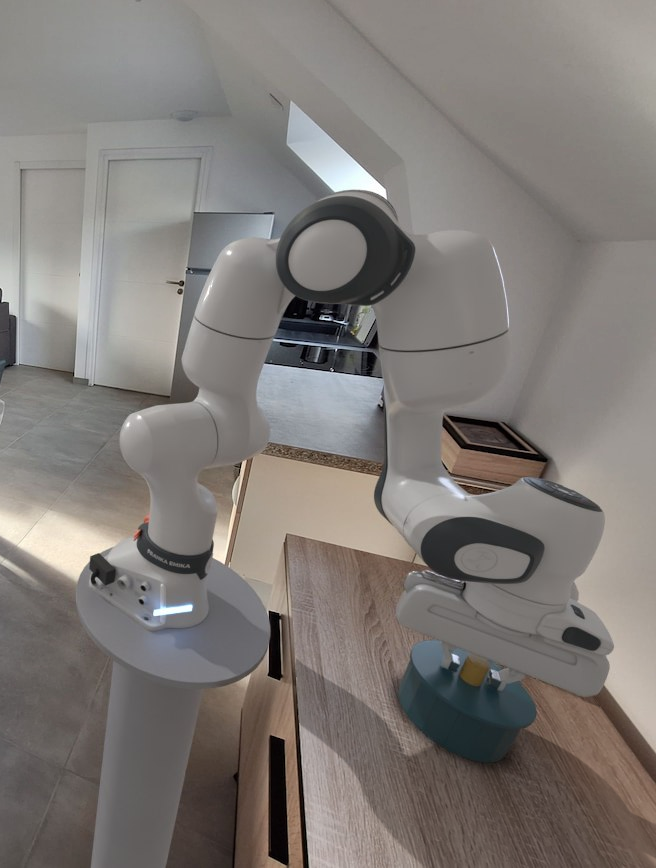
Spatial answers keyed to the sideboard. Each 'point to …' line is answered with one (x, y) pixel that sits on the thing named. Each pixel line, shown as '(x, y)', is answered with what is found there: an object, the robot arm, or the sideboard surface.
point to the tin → (452, 723)
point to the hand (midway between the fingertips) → (470, 675)
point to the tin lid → (472, 687)
